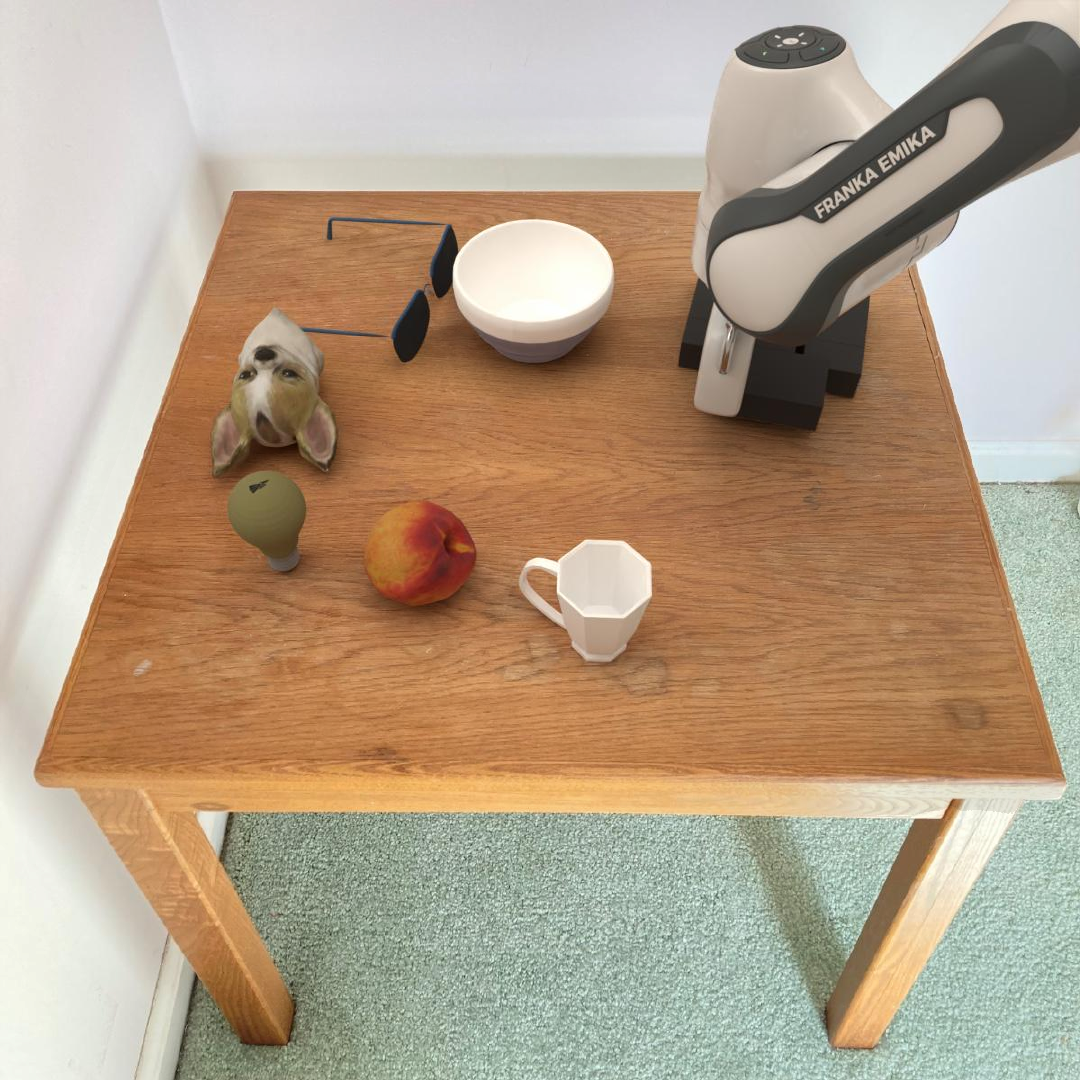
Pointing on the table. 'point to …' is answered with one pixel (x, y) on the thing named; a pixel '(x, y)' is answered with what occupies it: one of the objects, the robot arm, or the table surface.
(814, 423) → the black stepped block
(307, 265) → the table surface
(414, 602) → the fruit
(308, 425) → the ceramic sculpture
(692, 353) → the base pad
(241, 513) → the light bulb
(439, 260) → the sunglasses
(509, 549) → the table surface
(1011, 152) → the robot arm
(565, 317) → the bowl
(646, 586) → the cup
